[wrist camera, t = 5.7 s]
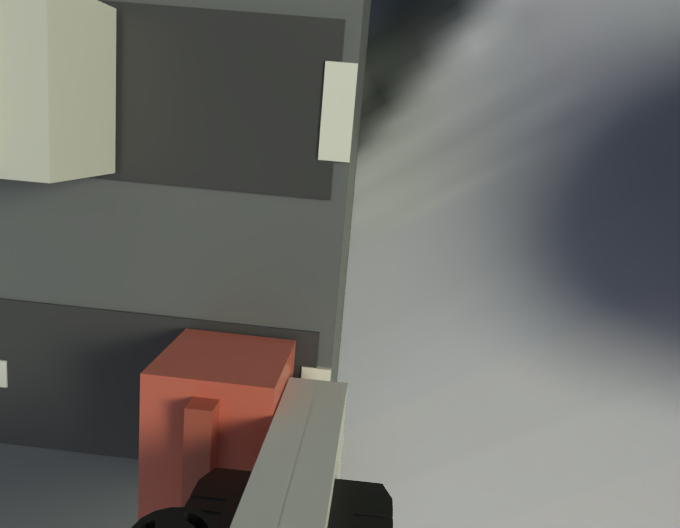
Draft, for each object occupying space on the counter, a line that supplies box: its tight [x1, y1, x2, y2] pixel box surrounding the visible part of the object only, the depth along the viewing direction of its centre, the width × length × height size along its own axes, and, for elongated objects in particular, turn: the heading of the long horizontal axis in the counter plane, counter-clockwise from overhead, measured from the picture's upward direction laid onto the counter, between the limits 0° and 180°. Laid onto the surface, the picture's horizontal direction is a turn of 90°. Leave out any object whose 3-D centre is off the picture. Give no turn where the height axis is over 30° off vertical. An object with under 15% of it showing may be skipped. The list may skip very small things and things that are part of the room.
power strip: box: [0, 0, 371, 528], centre depth 19 cm, size 30×12×4 cm, turn 175°
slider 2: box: [138, 329, 296, 520], centre depth 15 cm, size 4×3×4 cm
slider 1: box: [0, 0, 116, 183], centre depth 14 cm, size 4×3×4 cm
